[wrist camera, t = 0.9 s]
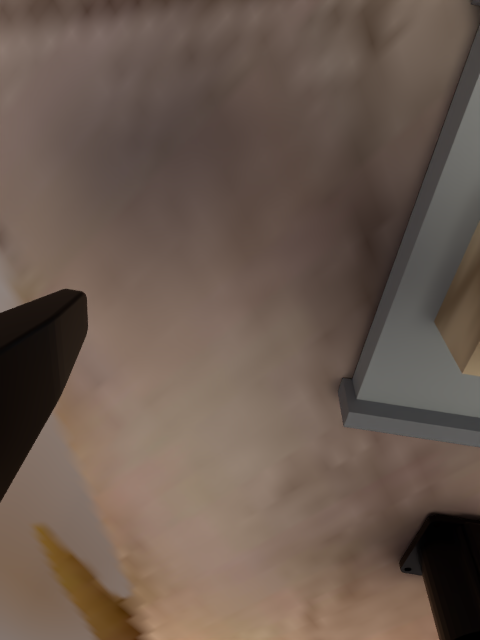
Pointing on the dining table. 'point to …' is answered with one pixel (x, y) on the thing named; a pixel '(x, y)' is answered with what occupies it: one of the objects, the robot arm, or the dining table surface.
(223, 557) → the dining table surface
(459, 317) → the maple block
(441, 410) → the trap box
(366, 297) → the dining table surface
